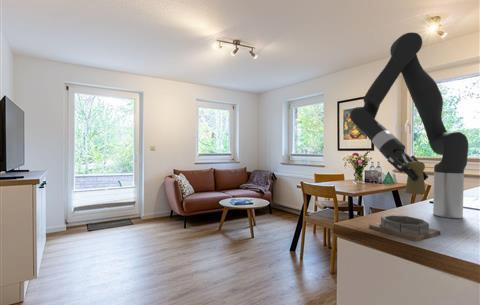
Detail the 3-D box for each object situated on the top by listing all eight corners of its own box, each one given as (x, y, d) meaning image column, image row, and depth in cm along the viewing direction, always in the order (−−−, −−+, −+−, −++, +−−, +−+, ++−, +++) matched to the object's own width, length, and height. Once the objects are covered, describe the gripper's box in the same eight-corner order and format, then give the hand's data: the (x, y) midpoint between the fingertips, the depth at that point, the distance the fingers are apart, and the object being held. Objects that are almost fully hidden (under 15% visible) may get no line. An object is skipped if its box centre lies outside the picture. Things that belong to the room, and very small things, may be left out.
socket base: (394, 222, 92) (394, 212, 92) (440, 234, 79) (440, 222, 79) (369, 227, 85) (369, 217, 85) (414, 241, 73) (414, 228, 73)
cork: (429, 194, 87) (430, 162, 87) (409, 194, 88) (410, 161, 88) (420, 191, 93) (421, 161, 93) (402, 191, 94) (402, 160, 94)
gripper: (382, 137, 93) (418, 173, 83) (406, 138, 100) (441, 171, 90) (369, 151, 98) (401, 187, 88) (392, 151, 105) (424, 185, 94)
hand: (421, 179), depth 89 cm, fingers closed on cork, 5 cm apart
